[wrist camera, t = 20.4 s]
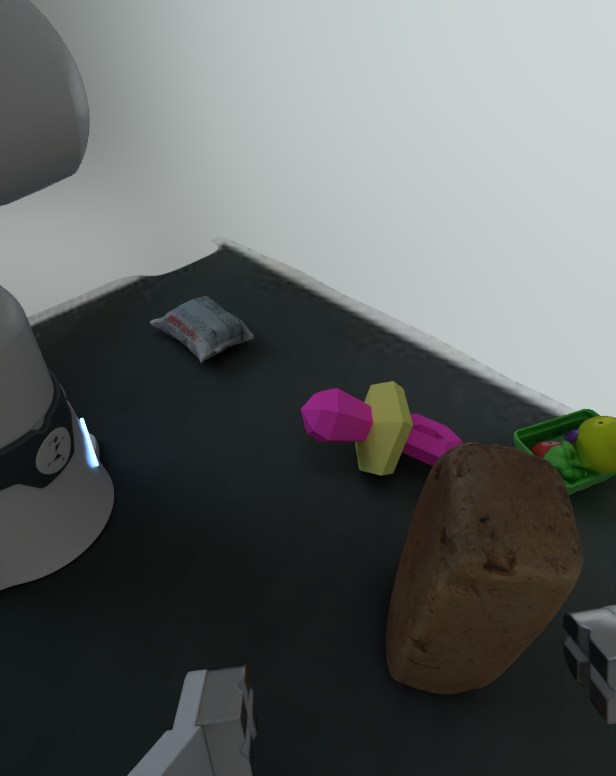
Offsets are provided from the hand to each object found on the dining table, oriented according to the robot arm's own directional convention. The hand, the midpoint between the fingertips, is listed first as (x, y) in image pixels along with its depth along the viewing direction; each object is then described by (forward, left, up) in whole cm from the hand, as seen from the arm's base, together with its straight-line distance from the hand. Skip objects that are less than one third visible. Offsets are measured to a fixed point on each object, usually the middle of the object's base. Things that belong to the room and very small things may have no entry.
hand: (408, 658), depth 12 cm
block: (+6, +13, -28) cm, 32 cm away
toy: (-1, +30, -28) cm, 42 cm away
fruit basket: (+19, +33, -28) cm, 48 cm away
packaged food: (-27, +42, -28) cm, 58 cm away
